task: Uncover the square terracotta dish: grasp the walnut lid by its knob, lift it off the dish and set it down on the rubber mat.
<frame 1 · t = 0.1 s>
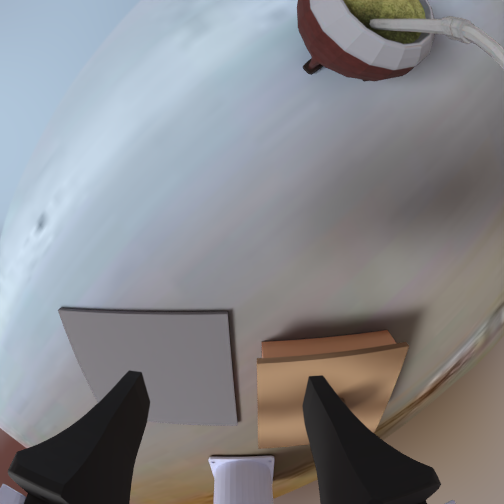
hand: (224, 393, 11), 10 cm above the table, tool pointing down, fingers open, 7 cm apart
mate gourd: (338, 53, 16), on the table
mat: (151, 375, 24), on the table
lid: (327, 402, 22), point 3 cm above the table, touching dish
dish: (321, 382, 25), on the table
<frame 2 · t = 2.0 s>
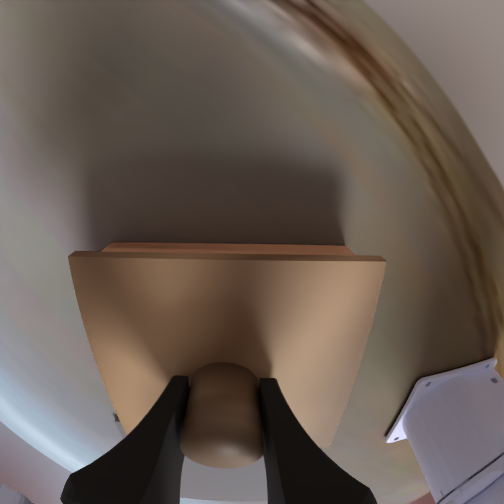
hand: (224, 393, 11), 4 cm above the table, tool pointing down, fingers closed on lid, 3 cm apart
mat: (215, 471, 20), on the table
lid: (225, 377, 12), point 3 cm above the table, touching dish, gripper
dish: (227, 343, 15), on the table
when the fingers open (3 cm above the table, at t = 5.5 s): lid drops 1 cm, resting on mat.
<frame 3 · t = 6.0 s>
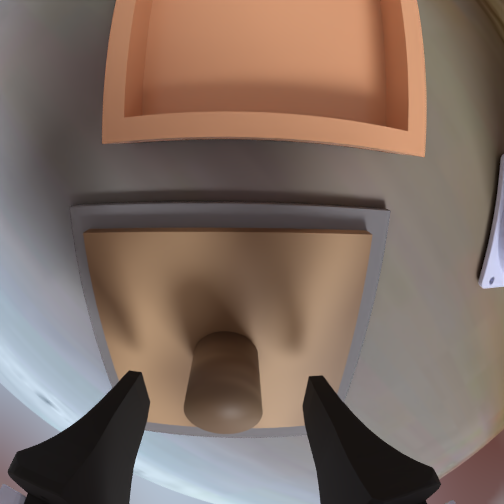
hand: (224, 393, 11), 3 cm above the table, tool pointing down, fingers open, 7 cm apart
mat: (226, 351, 14), on the table
lid: (226, 348, 14), resting on mat
dish: (268, 17, 9), on the table
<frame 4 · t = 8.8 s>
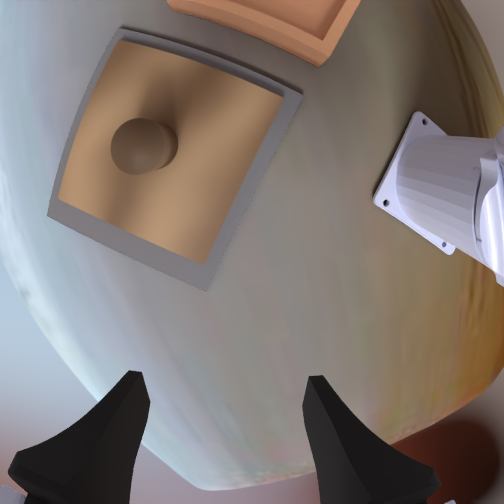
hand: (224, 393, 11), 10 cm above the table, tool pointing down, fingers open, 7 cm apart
mat: (156, 153, 18), on the table
lid: (157, 146, 17), resting on mat
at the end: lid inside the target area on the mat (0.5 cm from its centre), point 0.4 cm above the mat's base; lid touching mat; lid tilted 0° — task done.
